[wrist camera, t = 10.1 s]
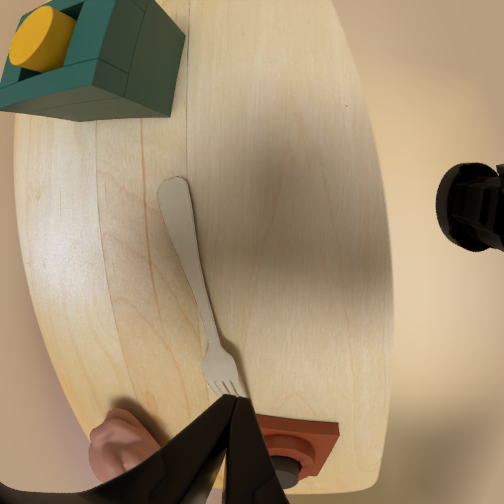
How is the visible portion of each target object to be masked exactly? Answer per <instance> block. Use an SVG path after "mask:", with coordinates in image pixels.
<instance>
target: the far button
mask: <svg viewBox="0 0 504 504" xmlns="http://www.w3.org/2000/svg"><path fill="white" fill-rule="evenodd" d="M270 457H271V460H272V462H273V465H274V468H275V471H276V473H277V474H276V475H277V476H278V478H279V481H280V484H281V486H282V488H283V489H288V488H291V487H293V486H295V485H296V484H297V483H298V481H299V463H298V461H297V460H296V459H293V458H291V457H289V456H280V455H273V456H270Z"/></svg>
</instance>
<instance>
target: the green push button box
mask: <svg viewBox="0 0 504 504" xmlns="http://www.w3.org/2000/svg"><path fill="white" fill-rule="evenodd" d="M42 6H51V7H53V8H55V9H56V10H58V11H60V12H62V13H64V14H66V15H68V16H69V17H71V18H73V19H75V20H77V22H76V25H75V28H74V31H73V34H72V37H71V40H70V44H69V47H68V50H67V54H66V57H65V61H64V65H63V66H64V67H62V68H59V69H55V70H52V71H49V72H46V73H41V72H38V71H34V70H30V69H27V68H23V67H19V66H15V65H13V64H12V63H11V62H10V59H9V54H8V57H7V60H6V64H5V67H4V71H3V74H2V78H1V83H0V111H5V112H15V113H23V114H31V115H38V116H46V117H52V118H59V119H65V120H71V121H77V122H82V121H93V120H105V119H121V118H148V117H170V114H171V108H172V101H173V95H174V89H175V84H176V78H177V73H178V68H179V63H180V58H181V53H182V49H183V44H184V40H185V35H184V33H183V32H182V31H181V30H180V29H179V27H178V26H177V25H176V24H175V23H174V22H173V20H172V19H171V18H170V17H169V16H168V15H167V14H166V12H165V11H164V10H163V9H162V8H161V7H160V6H159V5H158V4H157V2H156V1H155V0H52V1H50V2H48V3H46V4H44V5H42ZM42 6H40V7H42ZM40 7H38V8H40ZM38 8H36V9H34V10H33V11H30V12H29V13H27V14H25V15H24V16H22V17H21V20H20V22H19V25H18V27H17V30H16V32H17V31H18V29H19V27H20V26H21V24H22V23H23V22H24V21H25V19H26V18H27V17H28V16H29V15H30V14H31V13H33V12H34V11H35V10H37V9H38ZM15 34H16V33H15ZM9 51H10V50H9Z"/></svg>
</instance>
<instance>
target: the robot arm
mask: <svg viewBox="0 0 504 504" xmlns="http://www.w3.org/2000/svg"><path fill="white" fill-rule="evenodd" d="M463 168H464V169H465V172H463ZM496 168H497V173H499V177H496V176H494V175H492V174H489V173H487V172H484V171H482V170H479V169H477V168H474V167H471V166H469V165H466V164H461V165H460V166H459V168H458V177H457V185H456V186H455V193H454V200H453V206H452V212H451V213H452V217H451V222H450V227H449V236H450V237H451V238H453V239H456V240H460V241H465V242H469V243H473V244H477V245H481V246H485V247H489V248H493V249H499V250H501V251H503V252H504V164H501V165H496ZM454 230H455V234H454V235H453V231H454ZM225 454H226V457H225ZM224 457H225V468H224V480H223V493H222V504H290V503H289V501H288V499H287V498H286V495H285V493H284V491H283V488H282V486H281V484H280V481H279V478H278V476H277V475H276V474H277V473H276V471H275V468H274V465H273V462H272V460H271V457H270V454H269V451H268V448H267V446H266V443H265V440H264V437H263V434H262V431H261V428H260V425H259V423H258V420H257V417H256V414H255V411H254V408H253V405H252V402H251V399H250V398H247V397H242V396H238V397H237V396H236V395H231V394H223V395H222V396H221V397H220V398H219V399H218V400H217V401H216V402H214V403H213V404H212V405H211V406H210V407H209V408H208V409H207V410H205V411H204V412H203V413H202V414H201V415H200V416H198V417H197V418H196V419H195V420H194V421H193V422H192V423H190V424H189V425H188V426H187V427H186V428H184V429H183V430H182V431H181V432H180V433H178V434H177V435H176V436H175V437H174V438H172V439H171V440H170V441H169V442H167V443H166V444H165V445H164V446H162V447H161V448H160V449H159V450H157V451H156V452H155V453H153V454H152V455H151V456H149V457H148V458H147V459H145V460H144V461H142V462H141V463H140V464H138V465H136V466H135V467H133V468H131V469H130V470H128V471H126V472H124V473H122V474H121V475H119V476H117V477H115V478H113V479H111V480H109V481H107V482H105V483H103V484H101V485H99V486H97V487H94V488H92V489H90V490H87V491H83V492H77V493H41V492H26V491H19V490H15V489H12V488H9V487H7V486H5V485H4V484H2V483H1V482H0V504H205V503H206V500H207V498H208V496H209V493H210V491H211V489H212V486H213V484H214V482H215V479H216V477H217V474H218V472H219V470H220V467H221V465H222V462H223V460H224Z"/></svg>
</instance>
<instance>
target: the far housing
mask: <svg viewBox="0 0 504 504" xmlns="http://www.w3.org/2000/svg"><path fill="white" fill-rule="evenodd" d="M256 417H257V420H258V423H259V425H260V428H261V431H262V434H263V437H264V440H265V443H266V446H267V448H268V451H269V454H270V456H273V455H280V456H289V457H291V458H293V459H296V460H297V461H298V463H299V481H300V480H302V479H304V478H306V477H307V476H317V475H318V474H319V472H320V470H321V468H322V467H323V465H324V463H325V461H326V460H327V458H328V456H329V454H330V453H331V451H332V449H333V447H334V445H335V443H336V441H337V439H338V438H339V436H340V433H339V426H338V423H327V422H314V421H303V420H293V419H285V418H277V417H270V416H263V415H256Z"/></svg>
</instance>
